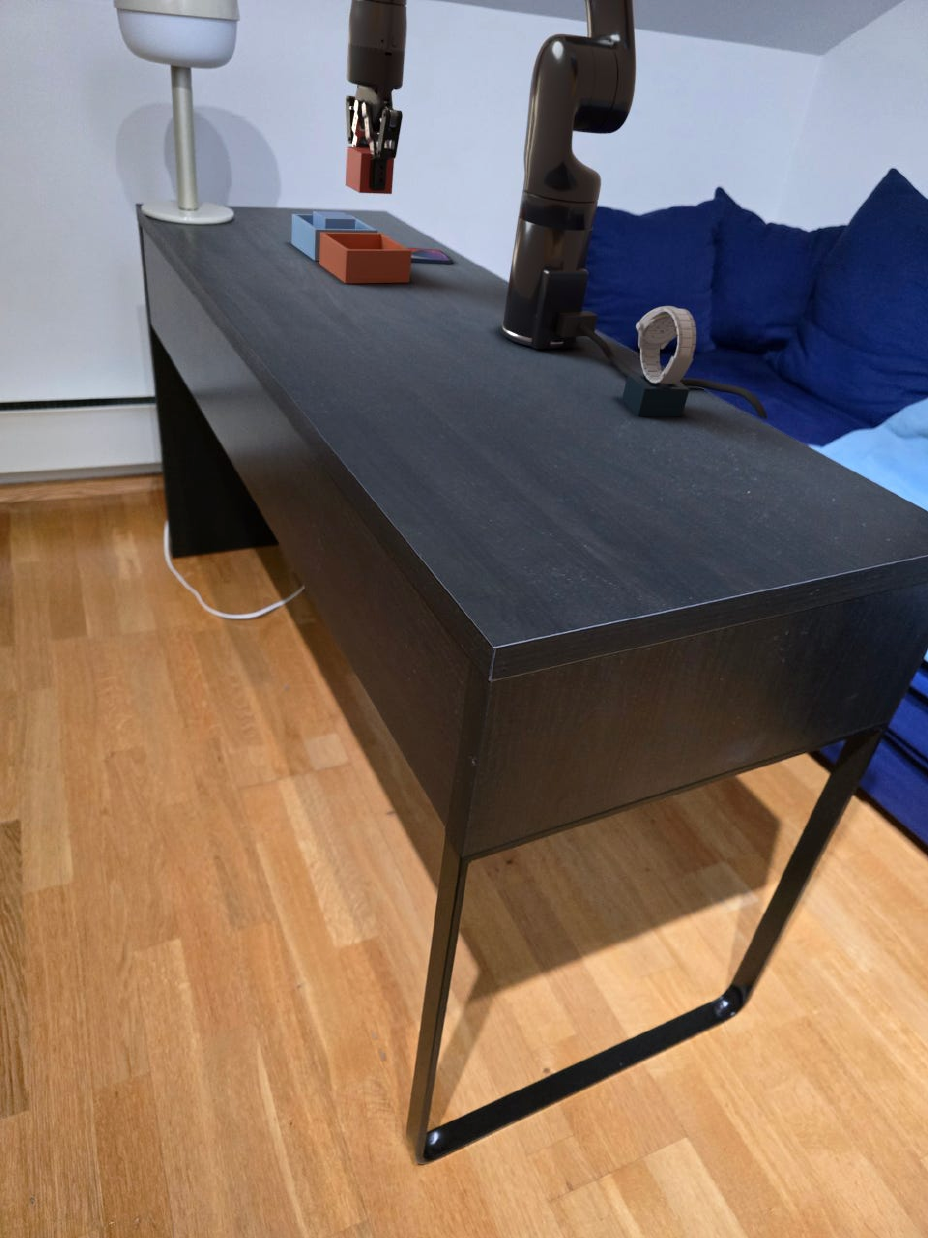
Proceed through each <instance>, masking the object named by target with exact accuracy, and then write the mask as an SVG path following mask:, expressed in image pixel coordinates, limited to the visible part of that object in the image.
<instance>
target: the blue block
mask: <svg viewBox="0 0 928 1238" xmlns="http://www.w3.org/2000/svg"><path fill="white" fill-rule="evenodd" d="M312 214H313V226H314V227H316V228H317V229H355V219H354V218H352V217H351V216H349V215H350V214H347V213H346V212H343V211H322V210H319V211H318V210H313V211H312Z"/></svg>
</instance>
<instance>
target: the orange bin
mask: <svg viewBox="0 0 928 1238" xmlns="http://www.w3.org/2000/svg"><path fill="white" fill-rule="evenodd" d="M408 248H409V247H407V246H404V245H403V244H401V243H399V242H398V241H396V240H394V239H392V238H391V237H389V236H388V235H386V234H384V233H383V232H381V233H379V232H377V233H320V255H319V261H318V264H319V265H320V266H321V267H322V268H323V269H325V270H326V271H328V272H329V273H330V274H332V275H333V276H335V278H337V279H339V280H340V281H341V282H343V283H344V284H384V283H385V284H386V283H387V284H392V283H393V284H395V283H396V284H398V283H399V284H400V283H410V275H411V265H412V262H411V253H412V251H411V250H410V249H408Z"/></svg>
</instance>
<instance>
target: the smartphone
mask: <svg viewBox="0 0 928 1238" xmlns="http://www.w3.org/2000/svg"><path fill="white" fill-rule="evenodd" d="M407 248H408V249H410V250H411V251H412V253H411V263H414V264H415V263H418V264H438V265H452V259H451V257H449V256H447V255H446V253H444V252H443V251H441V250H439V249H433V248H418V247H407Z"/></svg>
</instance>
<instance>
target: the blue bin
mask: <svg viewBox="0 0 928 1238" xmlns="http://www.w3.org/2000/svg"><path fill="white" fill-rule="evenodd" d="M348 215H349V216H351V217H352V218H354V219H355V229H317V228H316V227H314V226H313V213H312V214H311V213H291V245H292V246H293V247H295V248H297V249H298V250H299V251H301V252H302V253H303V254H305V255H306V256H308V257H309V258H310V259H311V260H313V261H314V262H319V255H320V233H378V230H377V229H376V228H374V227H372V226H371V225H369V224H368V223H365V222H364V221H362V220H360V219H358V218H357V217H356V216H353V215H352V214H348Z"/></svg>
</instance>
